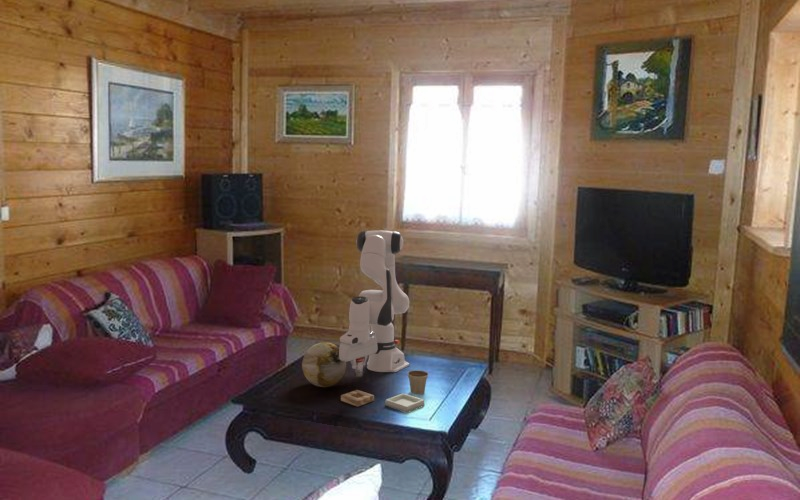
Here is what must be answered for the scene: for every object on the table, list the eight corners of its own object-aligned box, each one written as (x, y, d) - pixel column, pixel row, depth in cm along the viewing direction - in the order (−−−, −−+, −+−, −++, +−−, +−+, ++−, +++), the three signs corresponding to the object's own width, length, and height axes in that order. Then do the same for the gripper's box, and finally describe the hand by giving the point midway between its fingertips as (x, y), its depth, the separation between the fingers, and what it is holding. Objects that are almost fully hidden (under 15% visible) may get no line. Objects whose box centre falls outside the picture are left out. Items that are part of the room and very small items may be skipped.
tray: (403, 398, 293) (403, 393, 293) (424, 405, 285) (424, 399, 285) (385, 405, 284) (385, 399, 284) (406, 412, 277) (406, 406, 276)
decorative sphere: (338, 395, 295) (339, 350, 292) (295, 390, 299) (296, 346, 296) (350, 381, 314) (351, 339, 312) (310, 377, 318) (310, 335, 315)
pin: (358, 373, 291) (358, 356, 290) (365, 375, 288) (365, 358, 287) (351, 375, 288) (351, 358, 286) (358, 377, 285) (358, 360, 284)
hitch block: (357, 395, 296) (357, 389, 295) (374, 400, 289) (374, 395, 289) (340, 400, 288) (340, 395, 288) (357, 406, 282) (357, 401, 281)
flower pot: (413, 396, 296) (413, 377, 295) (403, 390, 304) (403, 371, 303) (431, 394, 300) (432, 375, 299) (421, 387, 308) (422, 369, 307)
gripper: (370, 329, 295) (369, 360, 297) (336, 338, 280) (336, 370, 282) (381, 332, 291) (380, 363, 293) (347, 341, 276) (347, 374, 278)
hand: (358, 367), depth 287 cm, fingers closed on pin, 3 cm apart
